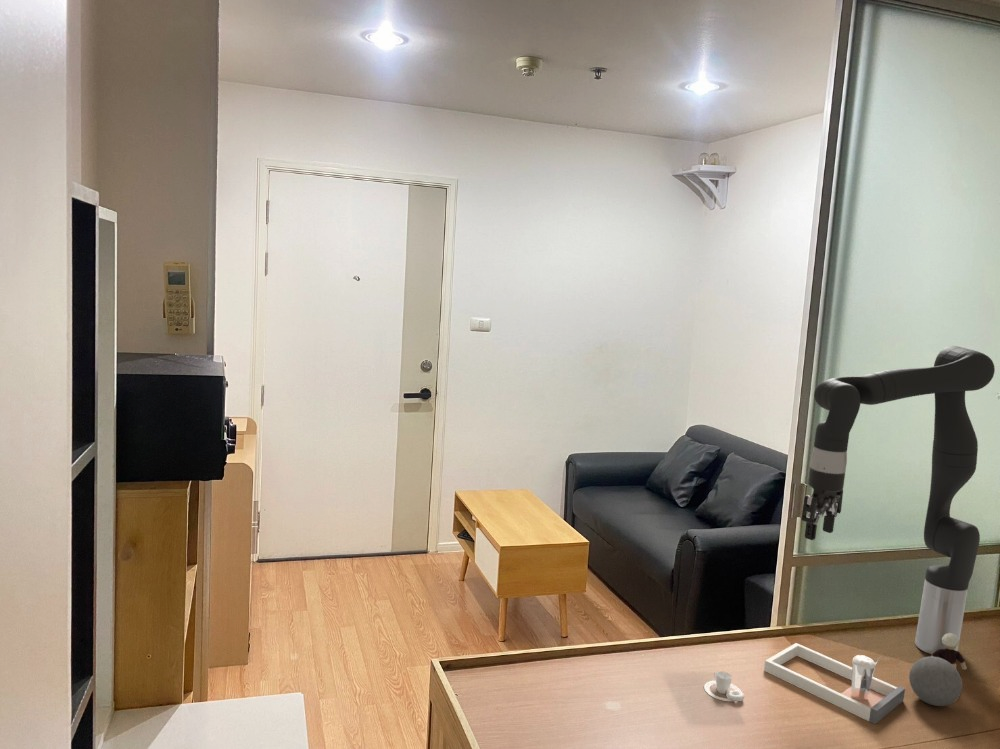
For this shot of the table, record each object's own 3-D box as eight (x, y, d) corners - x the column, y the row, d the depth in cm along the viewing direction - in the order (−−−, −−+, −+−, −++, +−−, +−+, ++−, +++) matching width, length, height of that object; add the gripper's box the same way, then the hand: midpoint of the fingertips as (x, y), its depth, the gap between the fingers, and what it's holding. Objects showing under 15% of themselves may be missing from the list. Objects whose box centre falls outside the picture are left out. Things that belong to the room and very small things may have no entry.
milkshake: (877, 705, 167) (883, 661, 165) (850, 700, 168) (856, 657, 166) (871, 693, 171) (878, 651, 170) (845, 689, 172) (851, 647, 171)
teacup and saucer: (748, 706, 165) (751, 688, 164) (711, 705, 164) (713, 687, 164) (734, 682, 174) (736, 665, 173) (698, 682, 173) (700, 665, 172)
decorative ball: (896, 689, 174) (903, 647, 173) (938, 689, 175) (945, 647, 174) (924, 715, 165) (931, 671, 163) (969, 716, 166) (976, 672, 164)
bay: (794, 652, 188) (796, 640, 188) (903, 701, 170) (905, 688, 169) (763, 670, 179) (765, 658, 178) (874, 724, 160) (876, 710, 160)
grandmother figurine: (955, 683, 179) (963, 631, 176) (964, 692, 175) (973, 639, 173) (921, 680, 179) (929, 628, 177) (929, 690, 175) (938, 637, 173)
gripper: (828, 476, 172) (819, 546, 174) (858, 467, 181) (848, 534, 184) (796, 467, 177) (788, 536, 180) (826, 459, 187) (818, 524, 189)
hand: (818, 535), depth 182 cm, fingers open, 8 cm apart
